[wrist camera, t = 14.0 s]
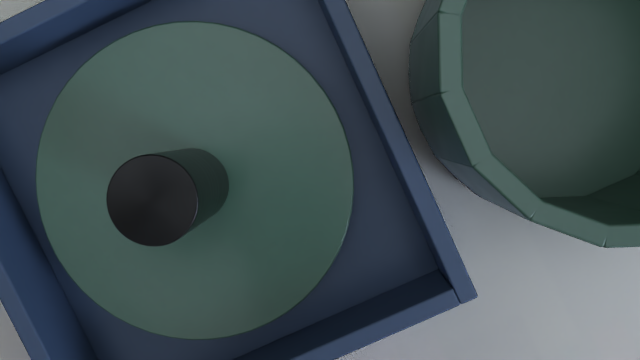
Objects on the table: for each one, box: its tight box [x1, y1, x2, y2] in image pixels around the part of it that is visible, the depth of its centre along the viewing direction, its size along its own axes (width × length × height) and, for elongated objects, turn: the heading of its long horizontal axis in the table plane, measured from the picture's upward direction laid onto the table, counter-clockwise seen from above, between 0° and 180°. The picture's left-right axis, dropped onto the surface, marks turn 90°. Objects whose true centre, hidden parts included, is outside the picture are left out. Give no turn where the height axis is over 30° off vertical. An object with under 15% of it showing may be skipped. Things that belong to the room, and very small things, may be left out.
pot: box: [409, 0, 640, 248], centre depth 17 cm, size 10×10×6 cm
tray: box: [0, 0, 477, 360], centre depth 19 cm, size 14×14×3 cm
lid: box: [35, 21, 354, 340], centre depth 17 cm, size 11×11×5 cm
